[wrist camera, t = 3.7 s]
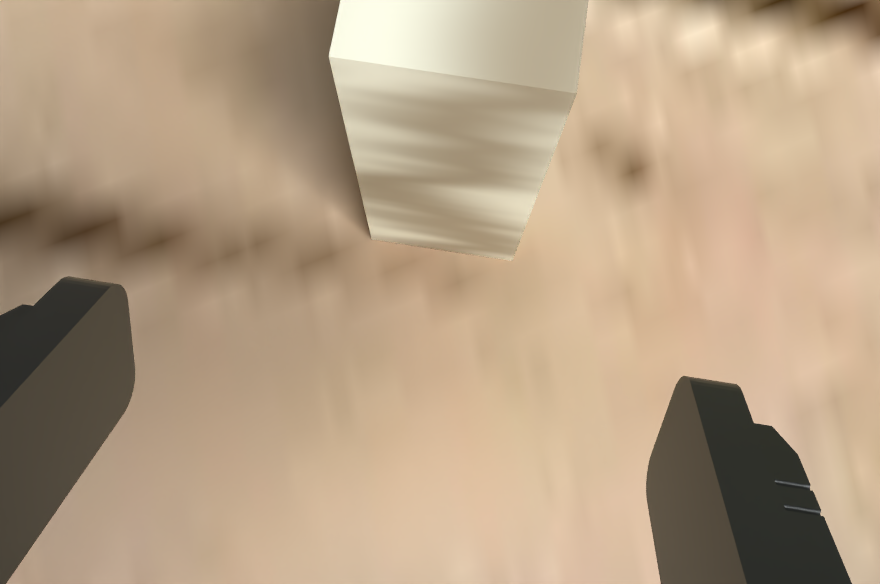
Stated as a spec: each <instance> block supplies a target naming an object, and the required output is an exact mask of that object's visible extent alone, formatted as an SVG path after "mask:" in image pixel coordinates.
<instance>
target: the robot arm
mask: <svg viewBox="0 0 880 584" xmlns="http://www.w3.org/2000/svg"><path fill="white" fill-rule="evenodd" d="M134 382H135V364H134V355H133V345H132V336H131V326H130V317H129V307H128V299H127V294H126V291H125V289H124V288H123V287H122V286H121V285H119V284H113V283H106V282H100V281H94V280H88V279H81V278H75V277H64V278H62V279H61V280H60V281H59V282H58V283H56V284H55V285H54V286H53V287H52V288H51V289H50V290H49V291H48V292H47V293H46V294H45V295H44V296H43V297H42V298H41V299H40V300H39V301H38V302H37V303H36V304H35V305H34V306H30V305H21V306H19V307H17V308H15V309H13V310H11V311H9V312H6V313H4V314H2V315H0V584H6V583H7V581H8V580H9V578H10V577H11V576H12V574H13V573H14V571H15V570H16V568H17V567H18V565H19V564H20V563H21V561H22V560H23V558H24V557H25V555H26V554H27V552H28V551H29V550H30V548H31V547H32V545H33V544H34V542H35V541H36V539H37V538H38V537H39V535H40V534H41V532H42V531H43V529H44V528H45V526H46V525H47V524H48V522H49V521H50V519H51V518H52V516H53V515H54V513H55V512H56V511H57V509H58V508H59V506H60V505H61V503H62V502H63V500H64V499H65V498H66V496H67V495H68V493H69V492H70V490H71V489H72V487H73V486H74V485H75V483H76V482H77V480H78V479H79V477H80V476H81V474H82V473H83V472H84V470H85V469H86V467H87V466H88V464H89V463H90V461H91V460H92V459H93V457H94V456H95V454H96V453H97V451H98V450H99V448H100V447H101V446H102V444H103V443H104V441H105V440H106V438H107V437H108V435H109V434H110V432H111V431H112V430H113V428H114V427H115V425H116V424H117V422H118V421H119V419H120V418H121V417H122V415H123V414H124V412H125V410H126V408H127V406H128V404H129V402H130V399H131V396H132V392H133V388H134ZM646 495H647V503H648V509H649V515H650V521H651V527H652V533H653V539H654V545H655V551H656V557H657V563H658V569H659V575H660V580H661V584H852V583H851V581H850V578H849V576H848V573H847V571H846V569H845V566H844V564H843V561H842V559H841V557H840V554H839V552H838V550H837V547H836V545H835V542H834V540H833V538H832V535H831V533H830V530H829V528H828V526H827V523H826V521H825V518H824V517H823V516H820V512H821V509H820V507H819V504H818V502H817V499H816V497H815V495H814V492H813V491H810V483H809V480H808V478H807V475H806V473H805V471H804V468H803V466H802V464H801V461H800V459H799V456H798V454H797V453H796V452H795V451H794V450H793V449H792V448H791V447H790V446H789V444H788V443H787V442H786V441H785V440H784V439H783V438H782V437H781V436H780V435H779V433H778V432H777V431H776V430H775V429H774V428H773V427H772V426H768V425H761V424H755V423H753V420H752V417H751V414H750V412H749V409H748V406H747V404H746V401H745V398H744V395H743V393H742V390H741V388H740V387H739V386H738V385H737V384H731V383H725V382H719V381H712V380H706V379H700V378H694V377H687V376H683V377H681V378H680V379H679V381H678V383H677V384H676V387H675V389H674V392H673V395H672V398H671V400H670V403H669V406H668V409H667V412H666V414H665V417H664V420H663V423H662V426H661V428H660V431H659V434H658V437H657V440H656V442H655V445H654V448H653V451H652V454H651V457H650V461H649V465H648V471H647V481H646Z"/></svg>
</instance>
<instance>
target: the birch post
mask: <svg viewBox="0 0 880 584" xmlns="http://www.w3.org/2000/svg"><path fill="white" fill-rule="evenodd" d="M587 8H588V0H340V5H339V10H338V14H337V19H336V24H335V29H334V33H333V38H332V43H331V48H330V52H329V60H330V64H331V69H332V73H333V77H334V81H335V86H336V90H337V94H338V98H339V103H340V107H341V111H342V115H343V120H344V124H345V128H346V132H347V137H348V141H349V145H350V149H351V154H352V158H353V162H354V166H355V171H356V175H357V179H358V183H359V188H360V192H361V196H362V200H363V205H364V209H365V213H366V217H367V222H368V226H369V230H370V234H371V239H372V240H379V241H385V242H392V243H398V244H405V245H411V246H418V247H424V248H431V249H437V250H444V251H450V252H457V253H463V254H470V255H476V256H483V257H489V258H496V259H502V260H509V261H512V260H513V258H514V255H515V252H516V250H517V247H518V245H519V242H520V239H521V237H522V234H523V232H524V229H525V226H526V224H527V221H528V219H529V216H530V213H531V211H532V208H533V206H534V203H535V201H536V198H537V195H538V193H539V190H540V188H541V185H542V182H543V180H544V177H545V175H546V172H547V169H548V167H549V164H550V162H551V159H552V156H553V154H554V151H555V149H556V146H557V143H558V141H559V138H560V136H561V133H562V130H563V128H564V125H565V123H566V120H567V117H568V115H569V112H570V110H571V107H572V104H573V102H574V99H575V97H576V94H577V87H578V79H579V71H580V63H581V55H582V47H583V39H584V31H585V23H586V15H587Z"/></svg>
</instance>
